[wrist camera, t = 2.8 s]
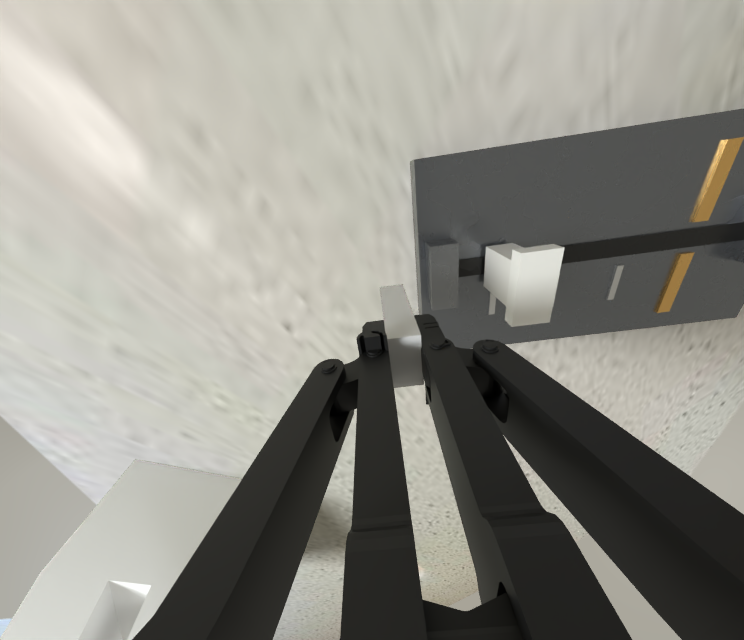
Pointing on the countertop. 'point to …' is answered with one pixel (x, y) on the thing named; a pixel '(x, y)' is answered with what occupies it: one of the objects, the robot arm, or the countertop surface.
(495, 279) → the fader
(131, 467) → the white toy house
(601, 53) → the countertop surface
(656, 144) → the console
